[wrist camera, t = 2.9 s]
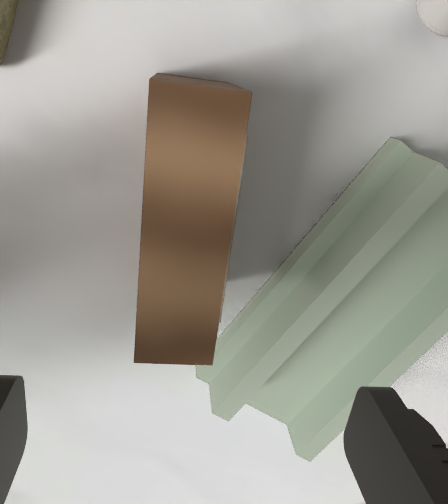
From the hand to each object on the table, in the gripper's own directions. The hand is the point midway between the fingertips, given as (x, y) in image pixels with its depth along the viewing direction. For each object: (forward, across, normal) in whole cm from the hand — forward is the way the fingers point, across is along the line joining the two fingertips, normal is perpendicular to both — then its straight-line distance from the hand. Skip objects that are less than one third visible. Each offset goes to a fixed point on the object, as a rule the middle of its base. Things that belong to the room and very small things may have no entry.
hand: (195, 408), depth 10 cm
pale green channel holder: (+20, -13, +8) cm, 25 cm away
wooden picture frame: (+20, 0, 0) cm, 20 cm away
